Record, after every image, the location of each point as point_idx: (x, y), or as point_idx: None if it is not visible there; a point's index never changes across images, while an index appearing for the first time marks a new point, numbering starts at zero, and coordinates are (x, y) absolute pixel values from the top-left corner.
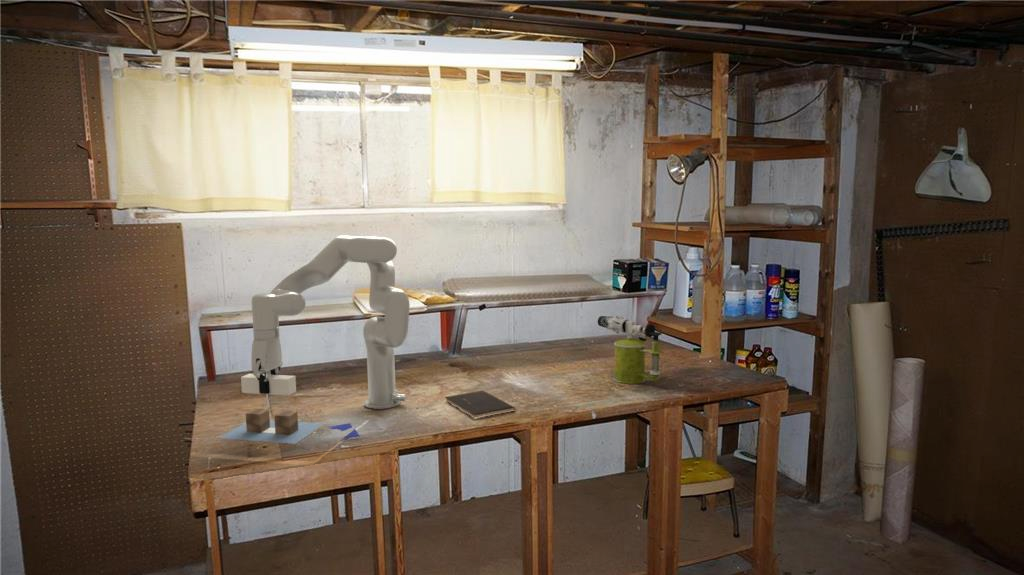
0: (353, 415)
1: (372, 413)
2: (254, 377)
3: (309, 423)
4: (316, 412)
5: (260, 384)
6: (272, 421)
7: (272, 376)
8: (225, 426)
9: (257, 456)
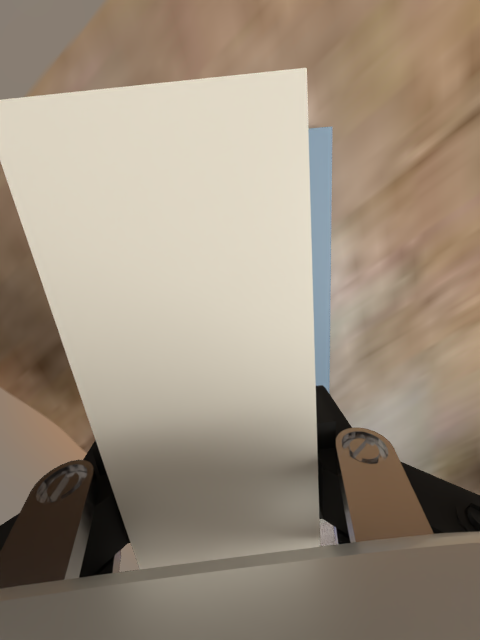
0: (435, 438)
1: (455, 473)
2: (102, 377)
3: (323, 383)
4: (460, 316)
5: (90, 455)
6: (318, 242)
7: (240, 544)
8: (245, 32)
9: (50, 387)
